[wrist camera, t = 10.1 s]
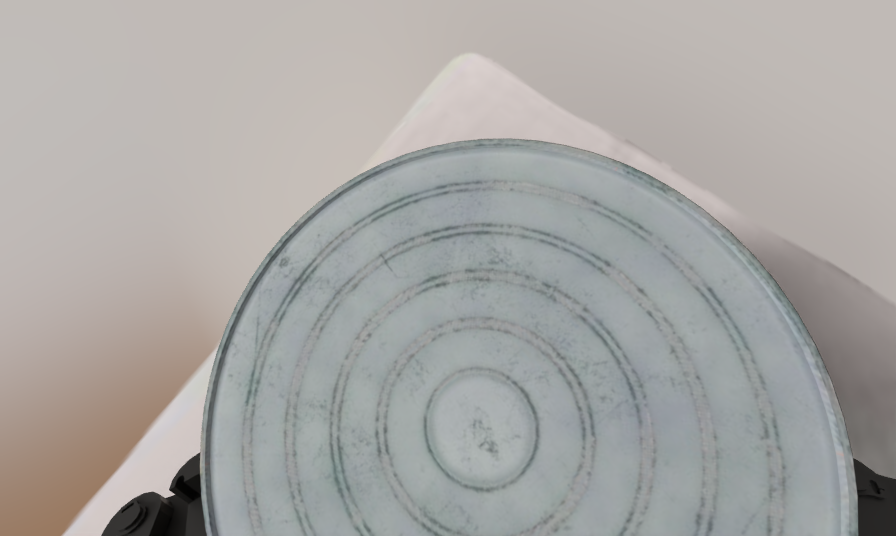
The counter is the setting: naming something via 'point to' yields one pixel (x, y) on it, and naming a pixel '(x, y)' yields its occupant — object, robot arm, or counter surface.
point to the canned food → (519, 365)
